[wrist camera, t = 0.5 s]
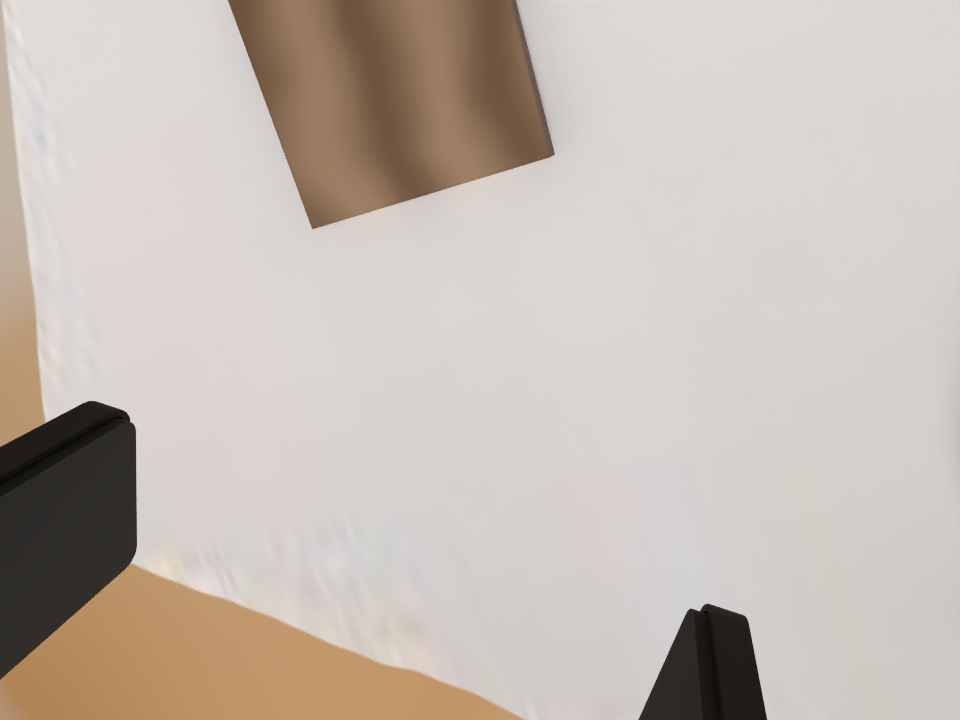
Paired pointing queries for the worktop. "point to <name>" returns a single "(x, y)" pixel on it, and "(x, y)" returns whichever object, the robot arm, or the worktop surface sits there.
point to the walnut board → (393, 96)
